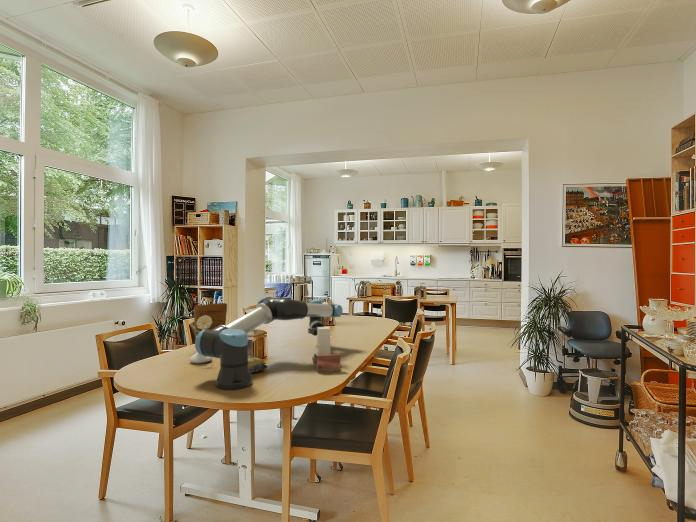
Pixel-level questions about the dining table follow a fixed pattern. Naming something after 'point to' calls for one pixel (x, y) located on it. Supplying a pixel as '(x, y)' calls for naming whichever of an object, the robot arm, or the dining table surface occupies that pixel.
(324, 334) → the block
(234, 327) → the robot arm
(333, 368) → the red brick
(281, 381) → the dining table surface
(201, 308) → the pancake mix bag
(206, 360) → the flower in vase
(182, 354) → the dining table surface
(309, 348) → the dining table surface
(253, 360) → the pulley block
